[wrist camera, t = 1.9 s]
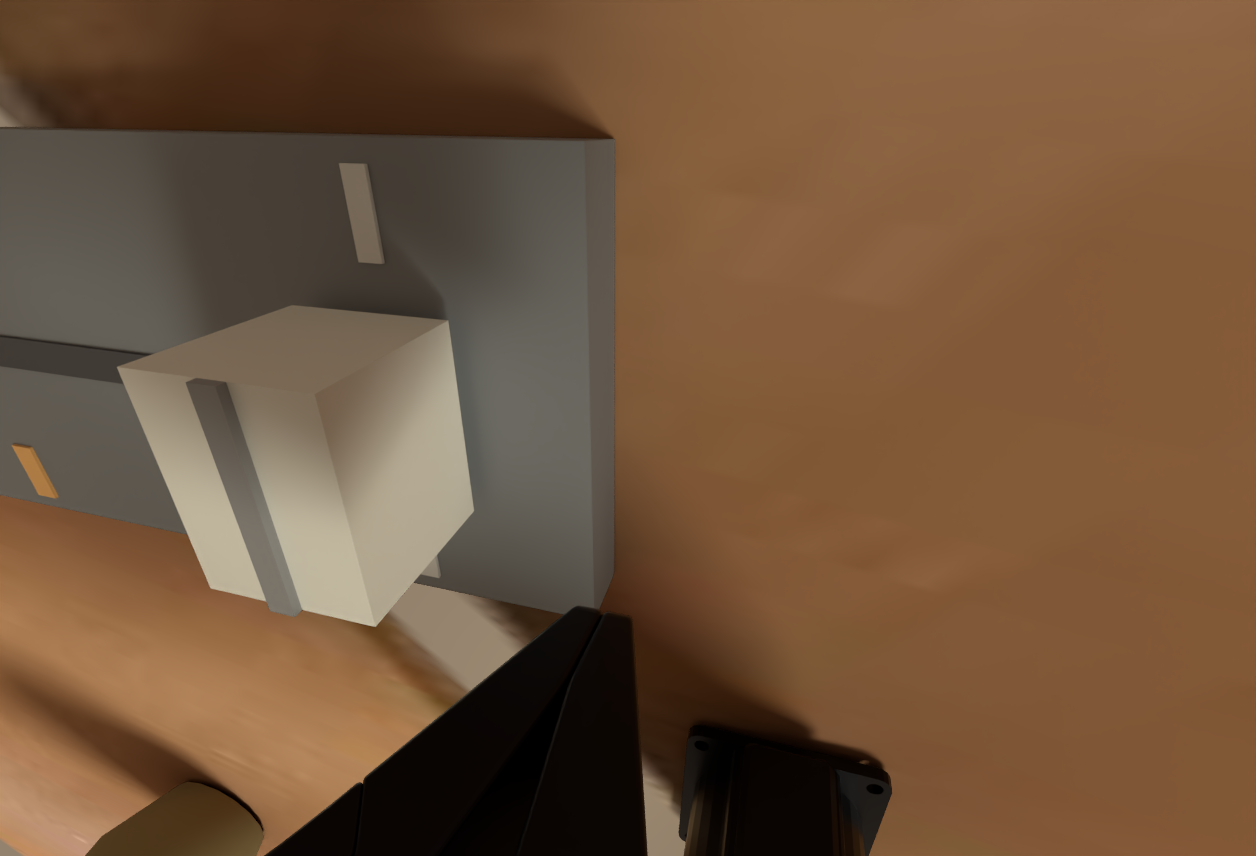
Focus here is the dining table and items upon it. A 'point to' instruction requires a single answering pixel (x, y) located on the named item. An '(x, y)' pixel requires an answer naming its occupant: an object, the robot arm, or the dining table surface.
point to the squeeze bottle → (185, 827)
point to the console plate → (324, 278)
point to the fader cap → (311, 454)
